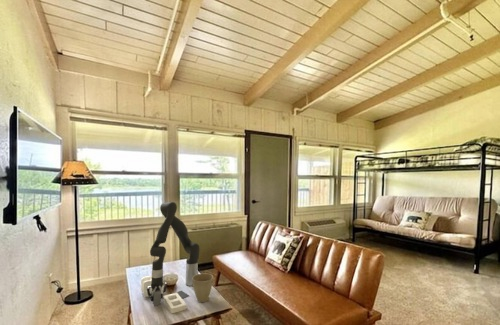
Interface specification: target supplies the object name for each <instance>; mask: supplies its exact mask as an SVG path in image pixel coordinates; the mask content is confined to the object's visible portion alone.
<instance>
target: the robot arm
mask: <svg viewBox="0 0 500 325" xmlns="http://www.w3.org/2000/svg"><path fill="white" fill-rule="evenodd" d="M159 209H160V213H161V215H162V216H163V217H164V218H165V219H164V221H163V222H162V224H161V225H160V227H159V228H158V230H157V234H156V237H155V240H154V242H153V243H152V246H151V248H150V250H149V255H150V256H151V257H155V258H157V257H158V258H157V259H154V260H153V261H152V263H151V264H152V265H151V266H152V268H151V276H152V280H151V286H149V287H148V286H147V287H146V288H147V293H148V296H150V301H151V302H153V294H154V292H155V291H157V290H160V291H161V300H163V296H164V293H166V292H167V287H168V283H167V282H165V281H164V283H163V280H164V260H165V257H166V254H167V249H166V247H165V246H161V245H162V244H165V243H166V242H167V238H168V234H169V230H170V227H171V228H172V230H173V231H174V233H175V235H176V236H177V238H178V240H179V241H180V243H181V244H182V247H183V249H184V251H185V253H187V254H189V257H187V259H186V262H185V263H186V264H185V286H188V287H193V280H192V278H193V276H195V275H197V274H199V271H198V268H199V267H198V264H199V263H198V262H199V259H200V258H199V257H200V245H199V243H196V242H193V241H192V240H191V239H190V237H189V233H188V232H189V231H188V228H187V225H186V224H185V223H184V222H183V221H182V220H181V219H180V218H178V217H177V216H176V213H177V210H178V206H177V203H176V202H174V201H170V202H169V201H168V202H163V203H161V205H160V206H159ZM163 285H164V289H163V290H162V288H161V287H162V286H163ZM150 288H152V291H151V293H150V291H149V290H150Z"/></svg>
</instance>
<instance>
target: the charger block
mask: <svg viewBox="0 0 500 325" xmlns="http://www.w3.org/2000/svg"><path fill="white" fill-rule="evenodd" d="M151 302H152V301H151ZM161 302H162V299H161V291H160V290H157V291H155V292H154V294H153V302H152V305H153V306H154V307H155V306H158V305H161V304H162V303H161Z"/></svg>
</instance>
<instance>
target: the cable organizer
mask: <svg viewBox="0 0 500 325" xmlns="http://www.w3.org/2000/svg"><path fill="white" fill-rule="evenodd" d="M151 280H152V275H148V276H147V275H146V276H143V277H141V280H140V283H141V284H140V290H141V292H142V296H143V297H144V298H149V297H150V298H151V296H148V293H147V288H146V287H147V286H148V287H149V286H151ZM163 283H165V280H164V279H163ZM161 288H162V290H163V289H164V285H163V286H162V287H161ZM149 291H150V293H151V291H152V288H150V290H149Z"/></svg>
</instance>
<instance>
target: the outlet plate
mask: <svg viewBox="0 0 500 325" xmlns="http://www.w3.org/2000/svg"><path fill="white" fill-rule="evenodd" d="M162 300H163V303H164V304H165V306H166V308H167V309H168V311H169V313H170V314H174V313H175V314H176V313H178V312H182V311H186V310H187V306H188V305H187V303H186V302H185V301H184V298H183V299H182V298H181V297H180V296H179V294H178V293H176V292H173V293H171V294H165V295H163V298H162Z"/></svg>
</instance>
